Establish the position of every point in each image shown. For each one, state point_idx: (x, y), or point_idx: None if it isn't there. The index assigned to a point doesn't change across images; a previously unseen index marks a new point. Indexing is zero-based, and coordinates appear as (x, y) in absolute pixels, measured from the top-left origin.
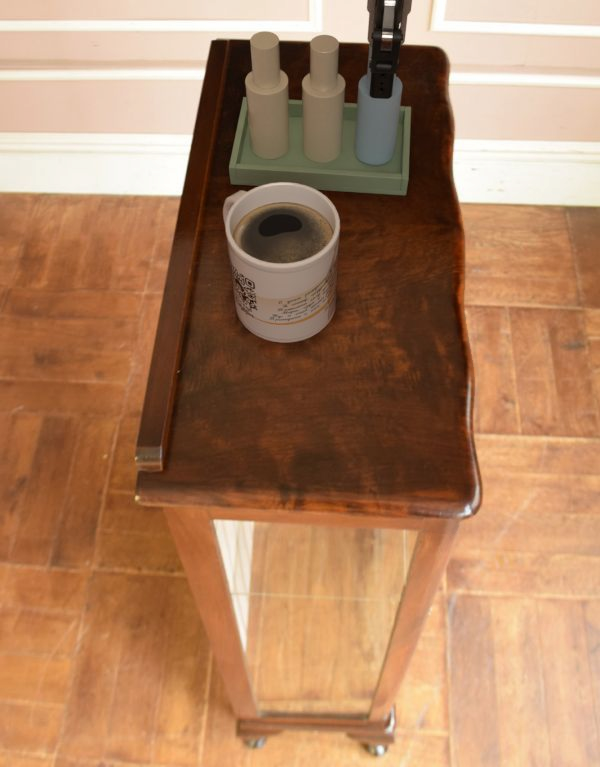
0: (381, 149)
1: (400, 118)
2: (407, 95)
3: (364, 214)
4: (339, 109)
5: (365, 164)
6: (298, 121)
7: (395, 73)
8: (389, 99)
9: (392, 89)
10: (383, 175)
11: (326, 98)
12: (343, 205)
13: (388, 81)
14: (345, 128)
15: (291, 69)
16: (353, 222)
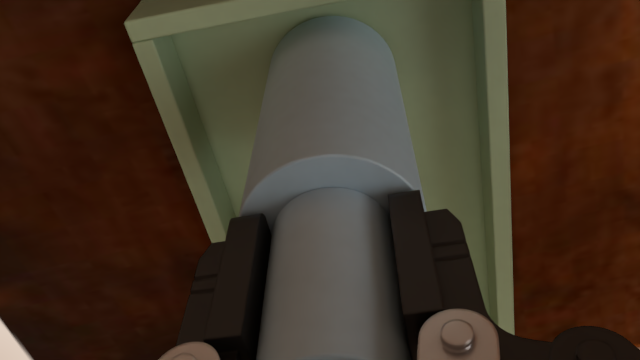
0: (395, 74)
1: (164, 36)
2: (11, 31)
3: (580, 36)
4: None
5: None
6: None
7: (615, 336)
8: (410, 184)
9: (424, 213)
10: (497, 35)
11: None
12: (547, 100)
13: (474, 274)
14: None
15: (85, 317)
16: (615, 58)
